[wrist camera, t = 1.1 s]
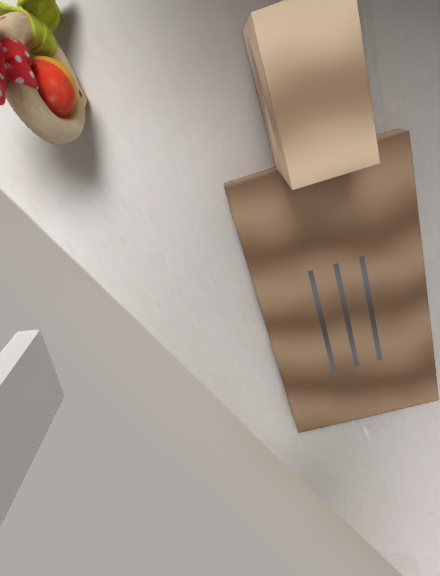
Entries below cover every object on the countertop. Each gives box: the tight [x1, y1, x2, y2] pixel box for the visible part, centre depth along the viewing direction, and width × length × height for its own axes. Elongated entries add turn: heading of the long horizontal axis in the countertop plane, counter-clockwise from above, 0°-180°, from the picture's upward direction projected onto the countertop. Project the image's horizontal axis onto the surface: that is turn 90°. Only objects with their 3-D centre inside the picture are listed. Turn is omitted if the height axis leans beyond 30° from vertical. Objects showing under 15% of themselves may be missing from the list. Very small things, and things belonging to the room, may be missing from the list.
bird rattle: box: [0, 0, 88, 145], centre depth 24 cm, size 6×11×9 cm
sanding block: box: [242, 0, 380, 190], centre depth 26 cm, size 9×5×8 cm, turn 17°
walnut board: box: [224, 129, 439, 433], centre depth 35 cm, size 24×13×2 cm, turn 17°
